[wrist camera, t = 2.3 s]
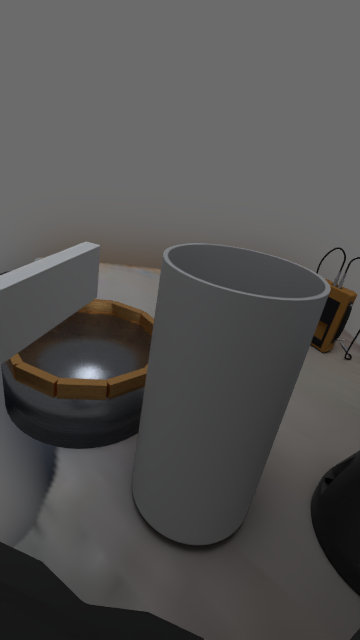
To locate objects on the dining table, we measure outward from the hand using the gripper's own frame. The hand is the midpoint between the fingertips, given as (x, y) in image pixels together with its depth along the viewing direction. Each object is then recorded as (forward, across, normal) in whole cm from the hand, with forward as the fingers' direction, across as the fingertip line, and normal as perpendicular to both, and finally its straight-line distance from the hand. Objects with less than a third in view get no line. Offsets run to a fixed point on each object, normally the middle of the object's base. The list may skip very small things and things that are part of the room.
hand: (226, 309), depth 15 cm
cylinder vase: (+10, +1, -26) cm, 28 cm away
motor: (+20, -16, -27) cm, 37 cm away
